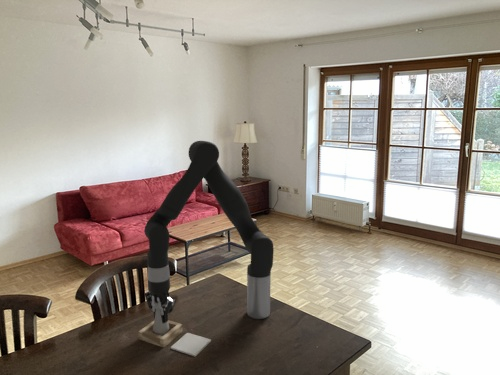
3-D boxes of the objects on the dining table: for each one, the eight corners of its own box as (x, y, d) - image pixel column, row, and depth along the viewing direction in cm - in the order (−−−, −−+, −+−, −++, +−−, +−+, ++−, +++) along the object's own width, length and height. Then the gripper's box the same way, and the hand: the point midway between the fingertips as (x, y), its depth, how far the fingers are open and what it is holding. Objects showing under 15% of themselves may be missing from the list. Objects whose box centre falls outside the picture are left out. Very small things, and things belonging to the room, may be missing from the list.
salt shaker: (164, 340, 140) (162, 306, 138) (150, 337, 142) (148, 303, 139) (172, 331, 146) (171, 298, 143) (158, 328, 147) (157, 296, 145)
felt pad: (187, 334, 144) (187, 332, 144) (211, 341, 140) (211, 339, 140) (170, 348, 136) (170, 347, 136) (195, 356, 131) (195, 355, 131)
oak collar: (158, 324, 151) (158, 317, 150) (182, 331, 146) (182, 324, 145) (138, 339, 141) (138, 331, 140) (163, 347, 136) (163, 339, 136)
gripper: (181, 277, 139) (182, 322, 142) (152, 268, 146) (154, 311, 150) (165, 285, 132) (167, 332, 136) (136, 276, 140) (139, 320, 143)
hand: (160, 321), depth 143 cm, fingers closed on salt shaker, 3 cm apart
